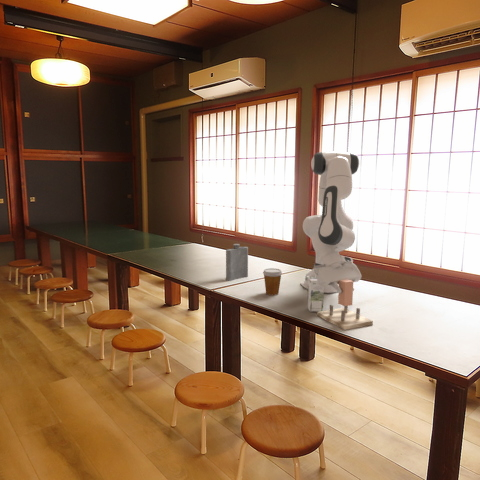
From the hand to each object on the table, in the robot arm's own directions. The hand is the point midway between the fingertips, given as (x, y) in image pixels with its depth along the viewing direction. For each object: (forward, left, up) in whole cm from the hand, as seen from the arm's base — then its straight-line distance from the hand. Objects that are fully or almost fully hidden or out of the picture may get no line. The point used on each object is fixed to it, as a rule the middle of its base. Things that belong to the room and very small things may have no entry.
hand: (346, 291), depth 166 cm
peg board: (-1, 0, -12) cm, 12 cm away
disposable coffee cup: (-46, -9, -12) cm, 48 cm away
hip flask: (-81, -13, -12) cm, 83 cm away
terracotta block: (-1, 0, -5) cm, 5 cm away
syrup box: (-16, -4, -12) cm, 20 cm away
